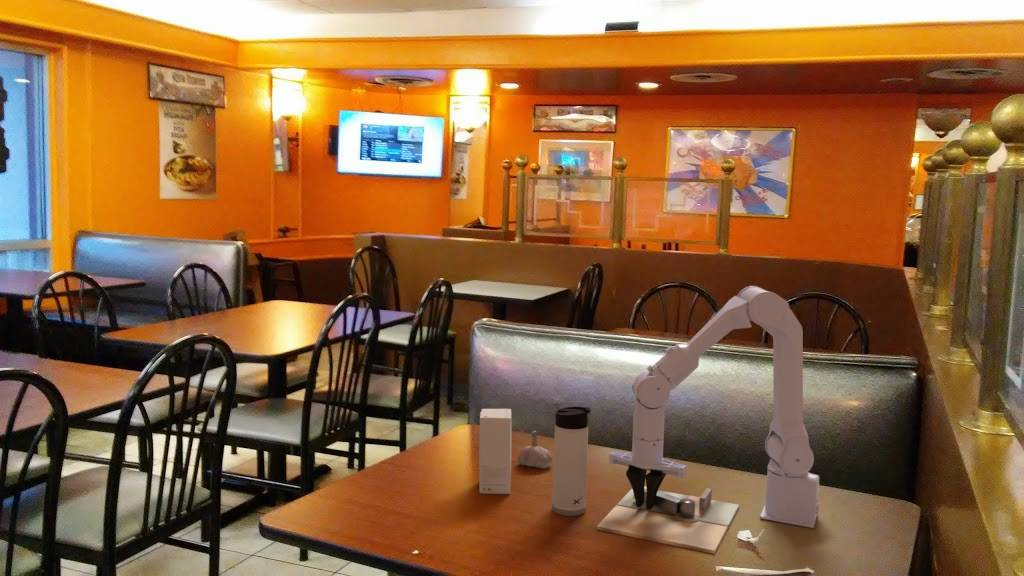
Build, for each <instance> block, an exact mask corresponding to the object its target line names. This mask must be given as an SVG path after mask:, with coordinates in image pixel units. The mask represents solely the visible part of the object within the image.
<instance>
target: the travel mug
mask: <svg viewBox="0 0 1024 576" xmlns="http://www.w3.org/2000/svg"><path fill="white" fill-rule="evenodd" d="M591 411H592V410H591V407H585V406H568V407H562V408H559V409H558V410H557V411H556V412H555V416H554V417H555V423H554V442H553V446H554V448H553V449H554V450H553V479H552V511H553V512H554V513H555V514H556V515H557V514H558V515H560V516H565V517H577V516H581V515H583V514H584V513H585V512H586V505H587V504H586V502H587V501H586V498H587V476H588V475H587V472H588V468H587V467H588V446H589V445H588V442H589V414H591V413H592V412H591Z"/></svg>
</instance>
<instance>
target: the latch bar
mask: <svg viewBox="0 0 1024 576" xmlns="http://www.w3.org/2000/svg"><path fill="white" fill-rule="evenodd" d="M660 491H661V490H660ZM660 491H657V494H656V497H655V501H654V505H653V506H655V507H658V508H661V509H664V510H667V511H669V512H672V513H675V514H678V513H679V515H680V516H681V517H684V518H693V517H694V516H695V501H694V500H691V499H680V498H677V497H674V496H671V495H669V494H666V493H663V492H660ZM646 497H647V486H644V503H646ZM633 499H635V496H634V492H633Z"/></svg>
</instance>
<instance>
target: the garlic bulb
mask: <svg viewBox="0 0 1024 576" xmlns="http://www.w3.org/2000/svg"><path fill="white" fill-rule="evenodd" d="M531 437H532V438H531V442H532V443H531V445H528V446H527V445H526V446H525V447H523V448H522V449H521V450H520V452H519V454H518V455H517V461H518V463H519V464H520V465H521V466H526V467H529V468H532V467H533V468H538V469H546V468H548V467H550V466H551V465H552V464H553V462H554V456H553V455H552V453H551V452H550V451H549V450H548V449H547V448H544V447H542V446H539V445H538V438H537V431H536V430H533V431H532V433H531Z"/></svg>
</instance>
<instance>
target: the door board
mask: <svg viewBox="0 0 1024 576" xmlns="http://www.w3.org/2000/svg"><path fill="white" fill-rule="evenodd" d="M658 491H660V492H663V493H666V494H669V495H671V496H674V497H677V498H680V499H691V500H694V501H695V516H694V517H693V518H684V517H681V516H680V515H679V513H678V514H675V513H672V512H669V511H667V510H664V509H661V508H658V507H655V506H653V507H652V508H651V509H650V510H648V509H646V503H644V504H643V505H642V506H641V507H640V508H639V507H636V501H635V499H633V489H632V488H631V489H629V491H628V492H627V493H626V494H625V495H623V498H621V500H619V502H618V503H616V505H615V506H614V507H613V508H612V509H611V510H610V511H609V513H608V514H606V516H605V517H604V518H602V520H601V521H600V522H599V523H598V524H597V526H596V530H599V531H602V532H608V533H611V534H612V533H613V534H618V535H622V536H627V537H632V538H635V539H641V540H645V541H651V542H656V543H661V544H666V545H671V546H674V547H680V548H684V549H689V550H695V551H699V552H703V553H709V554H712V555H715V554H716V552H717V551H718V548H719V546H720V545H721V543H722V540H723V539H724V537H725V535H726V533H727V531H728V529H729V527H730V526H731V523H732V521H733V520H734V518H735V516H736V514H737V512H738V510H739V509H740V504H738V503H737V504H736V503H731V502H726V501H720V500H714V499H712V491H713V490H712V488H710V487H706V488H705V490H704V491H703V492H702V494H701V495H700V496H694V495H688V494H683V493H682V494H681V493H675V492H670V491H664V490H659V489H658Z"/></svg>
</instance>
